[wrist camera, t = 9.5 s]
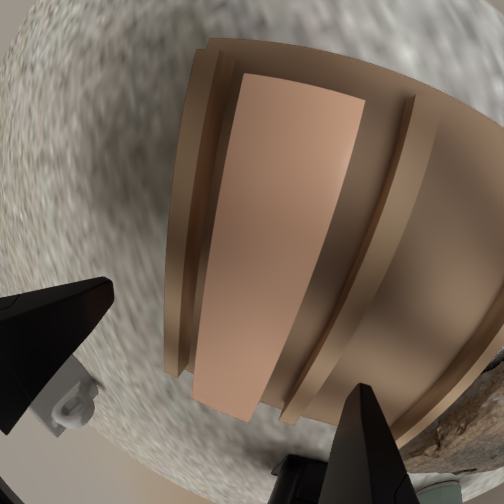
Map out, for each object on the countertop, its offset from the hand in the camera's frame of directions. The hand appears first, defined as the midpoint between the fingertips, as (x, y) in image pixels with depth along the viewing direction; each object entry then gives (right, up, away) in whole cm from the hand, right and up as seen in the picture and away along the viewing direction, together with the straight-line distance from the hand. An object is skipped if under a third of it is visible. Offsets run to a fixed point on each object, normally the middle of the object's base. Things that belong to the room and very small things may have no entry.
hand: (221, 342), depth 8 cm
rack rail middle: (+6, +1, +5) cm, 7 cm away
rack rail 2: (+13, -2, +3) cm, 14 cm away
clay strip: (+2, +2, +5) cm, 5 cm away
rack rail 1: (-2, +4, +6) cm, 7 cm away
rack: (+6, +1, +5) cm, 7 cm away
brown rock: (+24, -11, +4) cm, 26 cm away
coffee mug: (-23, -14, +22) cm, 35 cm away
